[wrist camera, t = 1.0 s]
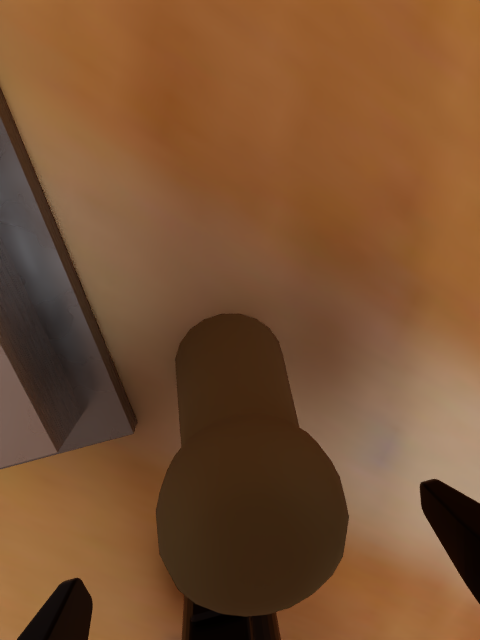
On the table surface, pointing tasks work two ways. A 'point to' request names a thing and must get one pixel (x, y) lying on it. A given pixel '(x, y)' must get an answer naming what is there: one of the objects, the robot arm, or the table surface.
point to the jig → (46, 329)
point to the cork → (245, 479)
